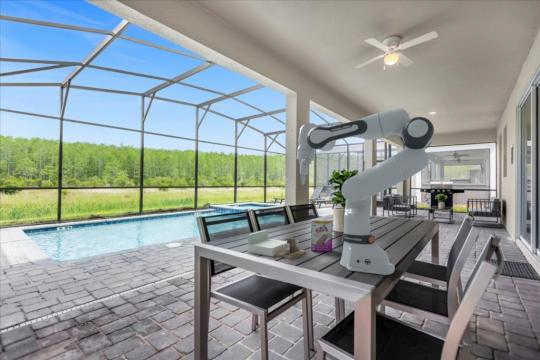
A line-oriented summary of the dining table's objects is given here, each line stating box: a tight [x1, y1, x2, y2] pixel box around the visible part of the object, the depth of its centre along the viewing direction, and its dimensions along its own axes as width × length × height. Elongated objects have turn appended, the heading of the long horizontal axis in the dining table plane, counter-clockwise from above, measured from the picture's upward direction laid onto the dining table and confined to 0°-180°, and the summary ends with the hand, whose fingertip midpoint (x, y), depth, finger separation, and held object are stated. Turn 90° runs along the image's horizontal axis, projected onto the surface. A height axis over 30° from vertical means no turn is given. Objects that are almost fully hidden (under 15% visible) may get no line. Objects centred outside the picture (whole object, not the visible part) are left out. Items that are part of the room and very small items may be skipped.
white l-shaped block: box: [247, 229, 287, 257], centre depth 140 cm, size 15×17×9 cm
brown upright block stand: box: [275, 237, 307, 260], centre depth 133 cm, size 9×14×8 cm, turn 144°
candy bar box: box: [310, 218, 334, 253], centre depth 141 cm, size 11×5×16 cm, turn 84°
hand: (302, 183), depth 132 cm, fingers open, 8 cm apart
